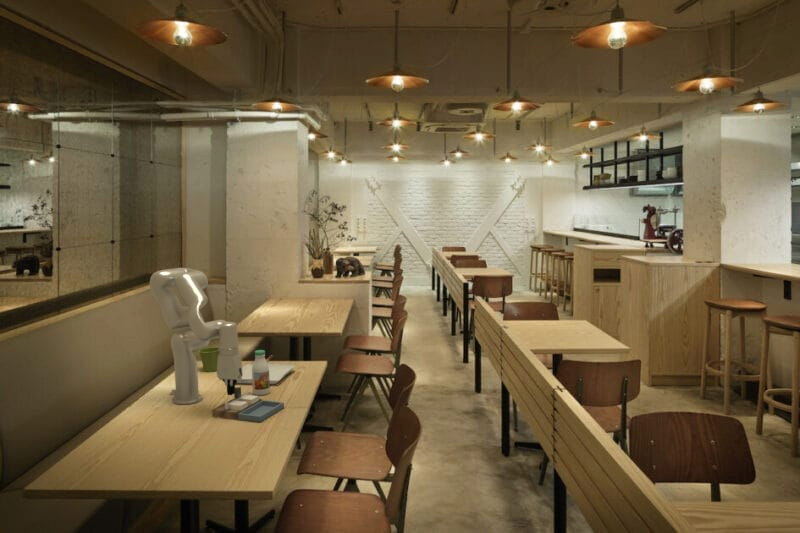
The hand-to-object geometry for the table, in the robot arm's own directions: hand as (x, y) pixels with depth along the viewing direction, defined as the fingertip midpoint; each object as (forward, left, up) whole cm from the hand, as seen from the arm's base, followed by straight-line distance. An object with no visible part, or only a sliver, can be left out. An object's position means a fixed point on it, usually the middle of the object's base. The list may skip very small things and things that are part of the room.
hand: (231, 394), depth 252 cm
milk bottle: (-1, +24, -7) cm, 25 cm away
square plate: (-15, +46, -8) cm, 49 cm away
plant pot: (-49, +50, -7) cm, 70 cm away
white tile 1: (+6, -4, -4) cm, 9 cm away
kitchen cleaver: (-32, +73, -8) cm, 80 cm away
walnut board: (+3, 0, -7) cm, 8 cm away
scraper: (+3, 0, -4) cm, 5 cm away
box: (+15, 0, -7) cm, 16 cm away
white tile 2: (+6, +4, -4) cm, 9 cm away
